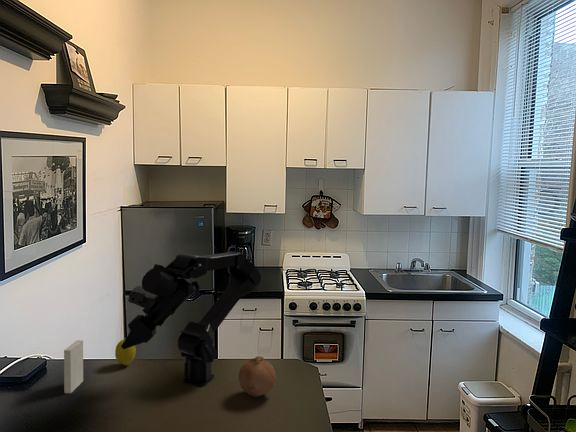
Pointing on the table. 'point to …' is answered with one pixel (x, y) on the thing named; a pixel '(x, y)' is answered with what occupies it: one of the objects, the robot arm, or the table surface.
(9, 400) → the table surface
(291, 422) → the table surface
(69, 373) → the tile
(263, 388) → the onion
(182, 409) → the table surface
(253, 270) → the robot arm
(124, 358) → the lemon
